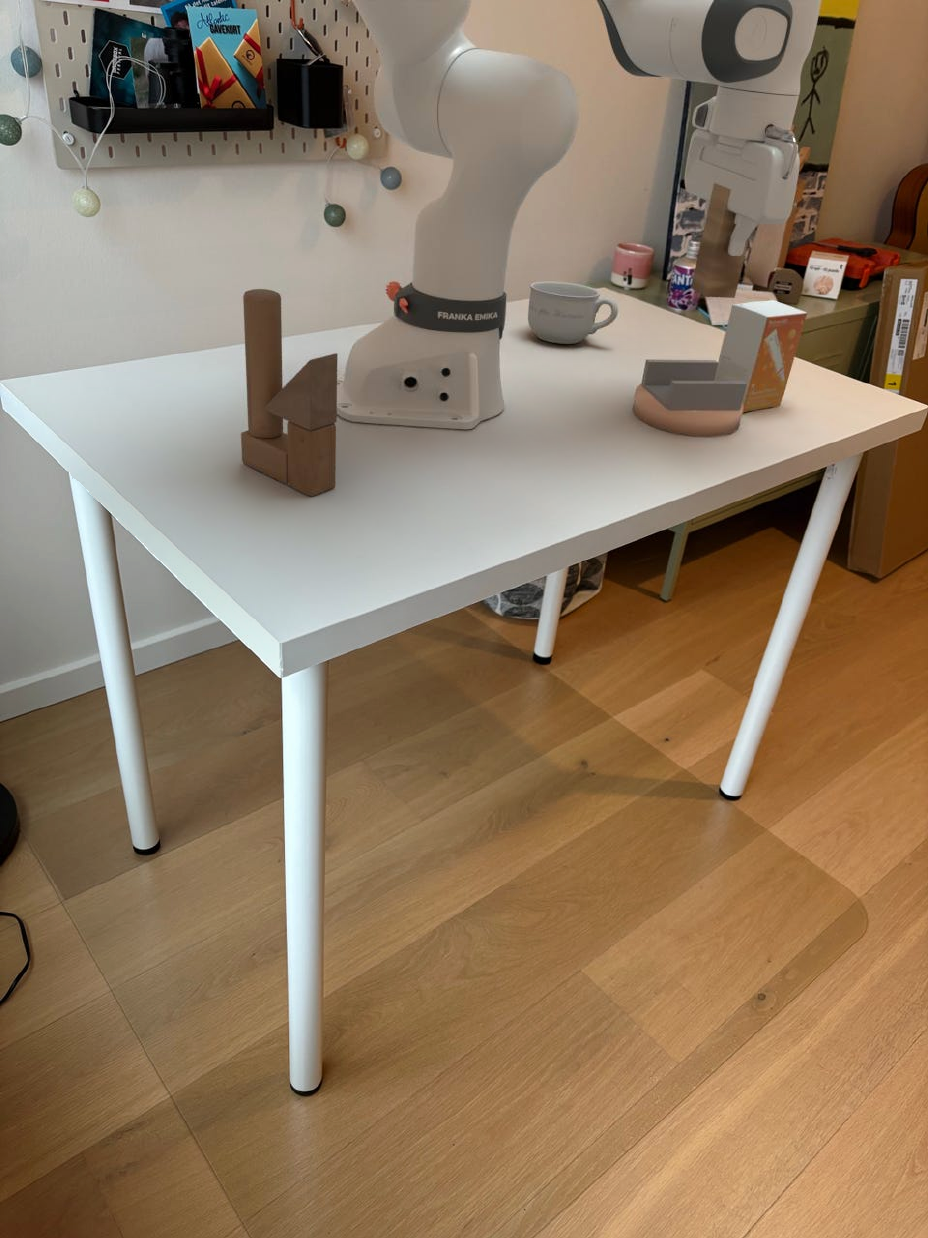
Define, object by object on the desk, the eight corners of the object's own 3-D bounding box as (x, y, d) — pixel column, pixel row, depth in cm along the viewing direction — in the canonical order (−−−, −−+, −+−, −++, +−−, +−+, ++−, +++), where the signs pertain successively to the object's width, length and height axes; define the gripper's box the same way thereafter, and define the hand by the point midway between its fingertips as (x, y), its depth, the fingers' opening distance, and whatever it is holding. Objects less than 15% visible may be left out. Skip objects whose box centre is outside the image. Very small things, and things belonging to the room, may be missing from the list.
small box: (742, 414, 128) (767, 316, 121) (708, 397, 132) (730, 302, 125) (782, 406, 132) (809, 311, 125) (747, 391, 136) (772, 298, 129)
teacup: (511, 337, 148) (517, 284, 144) (546, 324, 156) (553, 273, 151) (589, 359, 142) (598, 305, 138) (622, 345, 150) (631, 293, 145)
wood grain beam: (705, 296, 115) (729, 189, 108) (690, 287, 118) (713, 182, 112) (734, 297, 116) (760, 191, 109) (719, 288, 119) (744, 185, 113)
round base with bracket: (657, 437, 118) (667, 390, 115) (616, 396, 129) (624, 352, 126) (758, 436, 121) (770, 390, 118) (710, 396, 133) (720, 354, 129)
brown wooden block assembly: (310, 498, 96) (310, 318, 86) (240, 464, 101) (233, 290, 91) (337, 488, 98) (340, 312, 88) (267, 455, 104) (262, 285, 94)
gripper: (826, 134, 99) (789, 271, 107) (734, 111, 115) (708, 231, 123) (773, 130, 97) (739, 270, 105) (687, 107, 114) (664, 229, 121)
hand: (722, 248), depth 114 cm, fingers closed on wood grain beam, 4 cm apart
